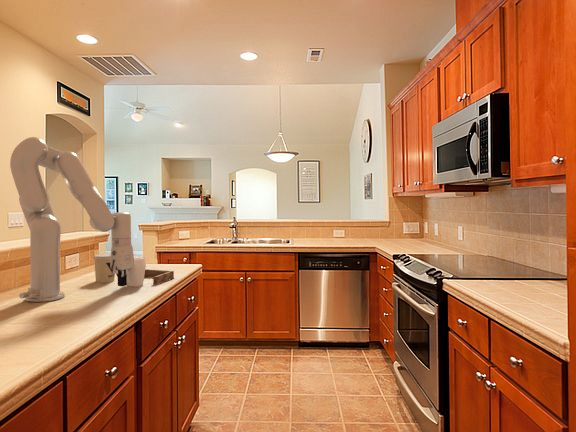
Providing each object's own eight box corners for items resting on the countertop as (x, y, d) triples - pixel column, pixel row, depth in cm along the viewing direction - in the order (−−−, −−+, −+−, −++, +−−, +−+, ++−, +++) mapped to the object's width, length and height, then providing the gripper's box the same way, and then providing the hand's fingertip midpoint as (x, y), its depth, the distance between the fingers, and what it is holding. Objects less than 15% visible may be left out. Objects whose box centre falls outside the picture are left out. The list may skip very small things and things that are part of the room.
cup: (123, 284, 178) (123, 257, 177) (144, 282, 181) (144, 256, 181) (124, 288, 169) (124, 260, 169) (146, 286, 173) (146, 259, 173)
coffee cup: (110, 283, 178) (110, 256, 178) (89, 282, 179) (89, 256, 178) (119, 279, 188) (119, 254, 187) (100, 278, 188) (100, 253, 187)
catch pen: (155, 284, 177) (155, 277, 177) (123, 282, 181) (123, 274, 180) (173, 278, 193) (173, 271, 193) (143, 276, 196) (143, 269, 196)
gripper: (118, 244, 157) (119, 290, 158) (139, 240, 171) (140, 282, 172) (101, 243, 158) (102, 289, 159) (124, 239, 173) (125, 281, 174)
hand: (122, 285), depth 166 cm, fingers closed
